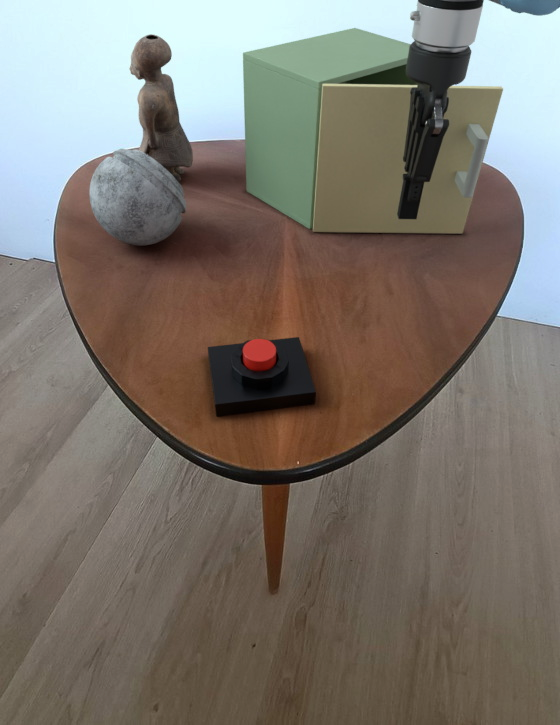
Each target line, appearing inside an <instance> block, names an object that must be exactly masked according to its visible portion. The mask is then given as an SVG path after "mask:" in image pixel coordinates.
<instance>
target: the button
mask: <svg viewBox="0 0 560 725" xmlns="http://www.w3.org/2000/svg"><path fill="white" fill-rule="evenodd" d="M250 340H251V341H249V342H247V343H246V344H245V346H244V347H243V362H244V365H245V366H246V367H247V368H248V369H250V370H253V371H257V372H259V371H267V370H269V369H271V368H272V367H273V366H274V365H275V363H276V347H275V345H274V344H273V343H272V342H270V341H268V340H269V339H265V338H255V339H250Z"/></svg>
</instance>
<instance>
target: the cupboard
mask: <svg viewBox="0 0 560 725" xmlns="http://www.w3.org/2000/svg"><path fill="white" fill-rule="evenodd" d="M411 44H412V43H407V42H404V41H402V40H397V39H394V38H392V37H387V36H384V35H380V34H377V33H374V32H370V31H367V30H363V29H360V28H358V27H357V28H356V27H353V28H347V29H343V30H339V31H334V32H330V33H325V34H321V35H315V36H312V37H311V36H310V37H307V38H303V39H298V40H294V41H289V42H285V43H280V44H275V45H272V46H267V47H262V48H257V49H253V50H249V51H246V52H242V70H243V71H242V78H243V80H242V81H243V108H244V109H243V113H244V115H243V116H244V145H245V146H244V147H245V148H244V149H245V183H246V184H245V186H246V192H247V193H249V194H250V195H252V196H254V197H256V198H257V199H259V200H260V201H262V202H264V203H266V204H267V205H269V206H271V207H273V208H274V209H275V210H277V211H279V212H280V213H282V214H284V215H285V216H287V217H289V218H290V219H292V220H294V221H295V222H297V223H299V224H301V225H302V226H304V227H305V228H307V229H308V230H311V229H312V230H313V218H314V203H315V188H316V173H317V157H318V142H319V127H320V112H321V97H322V84H379V85H418V83H417V82H414V81H412V80H411V79H409V78H408V77H407V75H406V65H407V59H408V53H409V47H410V45H411Z"/></svg>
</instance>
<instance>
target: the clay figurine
mask: <svg viewBox="0 0 560 725" xmlns="http://www.w3.org/2000/svg"><path fill="white" fill-rule="evenodd" d="M172 56H173V54H172V48H171V46H170V45H169V43H168V42H167V41H166V40H165V39H164V38H162V37H161V36H159V35H156V34H147V35H144V36H142V37H141V38H139V40H137V42H136V43H135V45H134V47H133V50H132V52H131V54H130V65H129V67H128V68H129V71H130V75H132V76H135V78H136V79H137V80H140V81H141V80H144V81H145V82H144V84H143V85H142V87H141V88H140V90H139V91H138V95H137V105H138V122H139V125H140V126H141V128H142V139H141V142H140V145H139V148H138V150H139V151H142V152H144V153H145V154H147V155H149V156H150V157H152V158H153V159H154V160H156V161H157V162H158V163H160V164H161V165H162V166H163V167H164V168H165V169H166V170H168V171H169V172H170V173H171V174H172V175H173V176H174V178H175V179H176V180H177V181H178V182H180V181H181V180H182V177H181V175H183V174H184V173H185V170H184V169H183V168H191V167H192V166H193V161H194V154H193V147H192V144H191V142H190V141H189V138H188V136H187V134H186V133H185V129H184V128H183V126H182V125H181V122H180V111H179V107H178V104H177V99H176V94H175V87H174V81H173V79H172V77H171V75H169V74H166V73H163V72H162V68H164V67H165V66H166V65H167V64H168V63H169V62H171V60H172ZM181 167H182V168H181Z"/></svg>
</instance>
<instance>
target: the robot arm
mask: <svg viewBox="0 0 560 725" xmlns="http://www.w3.org/2000/svg"><path fill="white" fill-rule="evenodd" d="M488 1H489V2H492V3H495V4H497V5H499V6H502V7H504V8H505V9H507V10H510V11H511V12H513V13H516V14H523V13H524V14H528V15H532V16H540V17H541V16H546V15H550V14H553V13H554V12H556V11H557V10H558V9H559V8H560V0H488ZM484 2H485V0H417V2H416V10H413V11H411V12H410V14H409V15H410V16H409V19H410V20H411V21H413V25H412V33H411V37H412V39H413V41H412V42H411V43H410V44H411V45H410V47H409V53H408V59H407V65H406V75H407V77H408V78H409V79H411V80H412V81H414V82H417V83H418V85H417V87H412V88H411V91H410V94H411V96H410V110H409V118H408V126H407V134H406V142H405V150H404V156H403V161H404V162H406V164H405V167H404V169H405V172H407V174H403V185H402V191H401V196H400V201H399V207H398V212H397V215H398V219H417V214H418V210H419V205H420V200H421V196H422V191H423V186H424V182H430V179H431V176H432V173H433V169H434V166H435V163H436V160H437V156H438V153H439V150H440V147H441V144H442V140H443V137H444V135H445V133H446V131H447V129H448V127H449V119H443V118H444V114H445V113H446V111H447V108H448V104H449V97H447V93H448V92H447V90H448V88H449V87H451V86H458V85H459V84H461V83H462V82H464V81H465V79H466V77H467V73H468V69H469V65H470V61H471V60H470V59H471V56H472V49H471V47H470V46H471V45H473V44H474V42H475V41H476V37H477V33H478V28H479V24H480V21H481V16H482V12H483V8H484V7H483V6H484Z"/></svg>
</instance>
